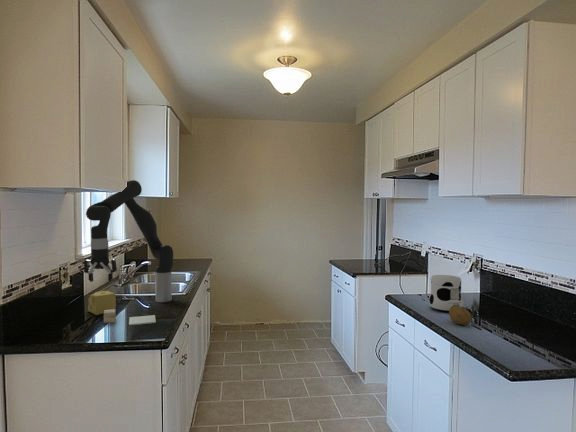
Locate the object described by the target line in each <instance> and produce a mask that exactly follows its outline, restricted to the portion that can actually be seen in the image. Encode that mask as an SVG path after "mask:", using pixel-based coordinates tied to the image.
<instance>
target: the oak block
mask: <svg viewBox="0 0 576 432" xmlns="http://www.w3.org/2000/svg"><path fill="white" fill-rule="evenodd" d="M116 315H117V313H116V308H115V309H113V310H104V313H103V324H107V323H115V322H116V317H117V316H116Z"/></svg>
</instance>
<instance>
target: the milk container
mask: <svg viewBox="0 0 576 432" xmlns="http://www.w3.org/2000/svg"><path fill="white" fill-rule="evenodd" d="M428 305H429V306H430V308H431V309H433V310H436V311H439V312H444V313H449V309H450V308H451V307H452V306H460V307H462V308H463V305H464V303H463V297H462V278H461V277H460V276H455V275H449V274H435V275H431V277H430V294H429V297H428Z"/></svg>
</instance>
